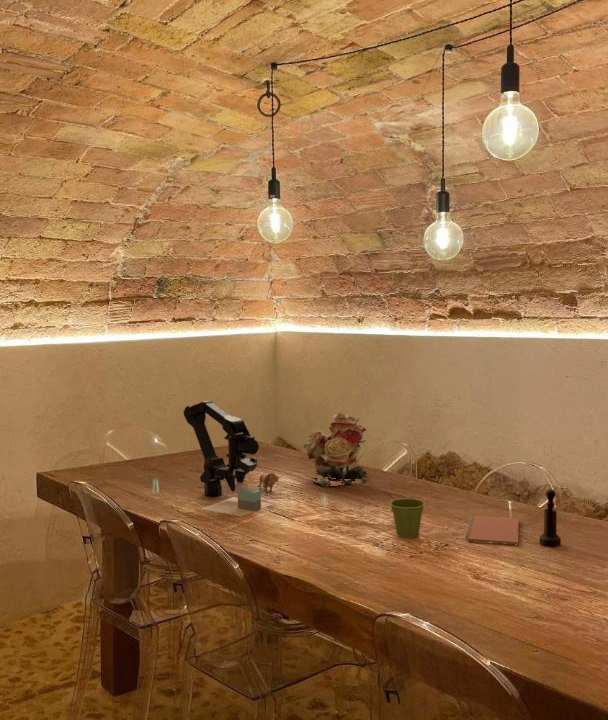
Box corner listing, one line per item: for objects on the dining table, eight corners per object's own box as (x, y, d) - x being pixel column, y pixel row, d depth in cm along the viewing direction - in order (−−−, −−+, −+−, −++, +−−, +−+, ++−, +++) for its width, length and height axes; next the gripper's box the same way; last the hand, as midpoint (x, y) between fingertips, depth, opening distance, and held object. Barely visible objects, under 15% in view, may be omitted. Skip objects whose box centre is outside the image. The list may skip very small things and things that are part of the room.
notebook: (469, 520, 275) (469, 514, 275) (518, 523, 271) (518, 517, 271) (464, 543, 249) (464, 537, 249) (518, 547, 245) (518, 541, 244)
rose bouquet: (301, 475, 347) (301, 410, 344) (364, 473, 350) (364, 408, 348) (308, 489, 321) (307, 418, 319) (376, 486, 325) (376, 416, 322)
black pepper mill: (543, 539, 250) (543, 485, 249) (563, 543, 247) (563, 488, 245) (536, 545, 245) (537, 490, 244) (557, 548, 241) (557, 492, 240)
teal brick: (237, 499, 290) (237, 490, 290) (244, 496, 294) (244, 488, 293) (254, 502, 286) (254, 492, 286) (260, 499, 289) (260, 490, 289)
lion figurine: (280, 494, 314) (280, 472, 313) (269, 496, 311) (269, 474, 310) (262, 487, 326) (262, 466, 325) (251, 489, 323) (251, 468, 322)
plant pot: (393, 529, 264) (392, 497, 263) (427, 531, 260) (427, 499, 260) (386, 539, 253) (386, 506, 252) (422, 542, 249) (422, 508, 248)
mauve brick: (225, 491, 303) (225, 482, 302) (231, 489, 306) (231, 480, 306) (241, 494, 298) (241, 485, 298) (247, 491, 302) (247, 483, 301)
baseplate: (200, 510, 291) (200, 499, 290) (233, 498, 307) (233, 488, 307) (241, 518, 280) (241, 507, 279) (273, 505, 296) (273, 495, 296)
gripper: (236, 457, 289) (237, 498, 290) (266, 449, 304) (266, 487, 305) (214, 454, 295) (215, 494, 296) (244, 446, 310) (244, 484, 312)
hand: (236, 490), depth 302 cm, fingers closed on mauve brick, 4 cm apart
